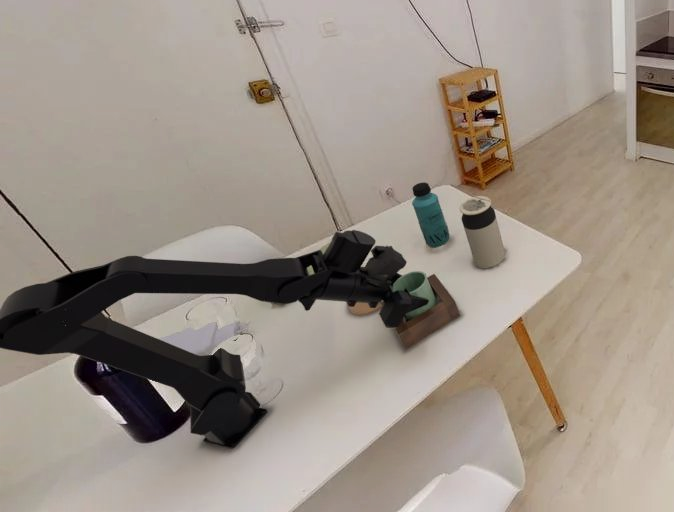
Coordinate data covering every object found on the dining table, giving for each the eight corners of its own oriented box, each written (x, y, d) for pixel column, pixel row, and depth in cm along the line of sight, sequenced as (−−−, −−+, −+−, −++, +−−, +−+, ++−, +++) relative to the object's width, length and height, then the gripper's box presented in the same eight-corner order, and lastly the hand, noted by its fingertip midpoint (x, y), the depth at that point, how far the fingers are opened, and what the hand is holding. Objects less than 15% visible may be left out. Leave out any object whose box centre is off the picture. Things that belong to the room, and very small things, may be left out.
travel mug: (488, 273, 105) (472, 218, 97) (468, 261, 109) (451, 208, 100) (511, 254, 111) (498, 200, 102) (491, 244, 115) (477, 191, 106)
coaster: (376, 317, 94) (375, 316, 94) (338, 312, 96) (338, 310, 96) (404, 284, 103) (404, 283, 102) (370, 280, 104) (369, 278, 104)
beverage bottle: (422, 249, 114) (399, 191, 104) (438, 234, 119) (419, 177, 109) (441, 254, 112) (420, 194, 102) (457, 238, 117) (439, 180, 108)
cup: (428, 331, 91) (413, 296, 85) (401, 327, 92) (384, 293, 86) (445, 306, 96) (433, 272, 91) (420, 302, 98) (406, 269, 92)
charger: (251, 348, 88) (155, 386, 81) (257, 318, 95) (169, 351, 88) (240, 333, 86) (140, 372, 79) (247, 304, 93) (156, 337, 86)
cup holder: (405, 350, 87) (398, 334, 84) (387, 317, 94) (380, 302, 92) (460, 315, 94) (455, 301, 92) (439, 287, 101) (434, 273, 99)
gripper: (384, 273, 74) (458, 283, 86) (356, 228, 86) (425, 241, 98) (351, 329, 73) (430, 330, 86) (328, 275, 85) (400, 283, 97)
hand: (422, 293), depth 92 cm, fingers closed on cup, 7 cm apart
